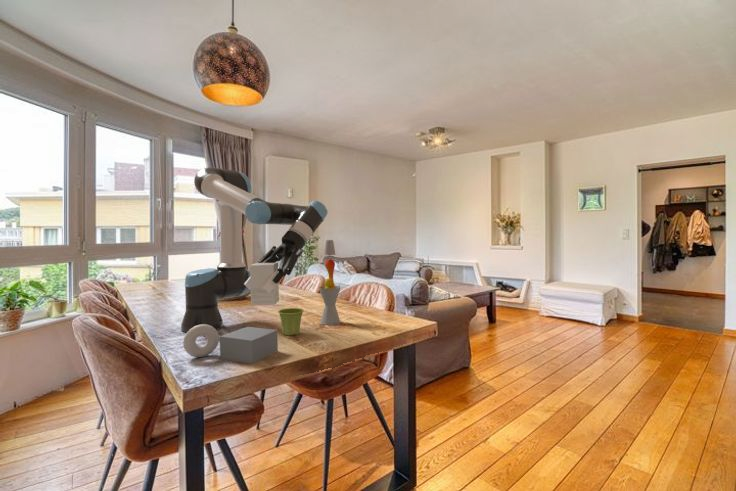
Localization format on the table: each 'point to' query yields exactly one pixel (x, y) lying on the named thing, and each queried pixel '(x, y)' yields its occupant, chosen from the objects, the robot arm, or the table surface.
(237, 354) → the slate block
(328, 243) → the lava lamp
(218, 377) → the table surface
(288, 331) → the plant pot
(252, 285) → the supplement box
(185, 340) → the donut
